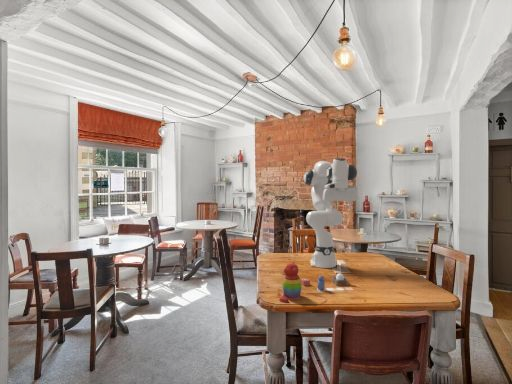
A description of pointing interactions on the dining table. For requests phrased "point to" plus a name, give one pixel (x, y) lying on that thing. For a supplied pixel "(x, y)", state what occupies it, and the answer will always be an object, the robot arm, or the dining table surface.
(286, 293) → the stacking bear
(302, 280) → the die
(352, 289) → the track
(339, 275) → the dome
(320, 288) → the pawn
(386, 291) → the dining table surface
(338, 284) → the popper box
